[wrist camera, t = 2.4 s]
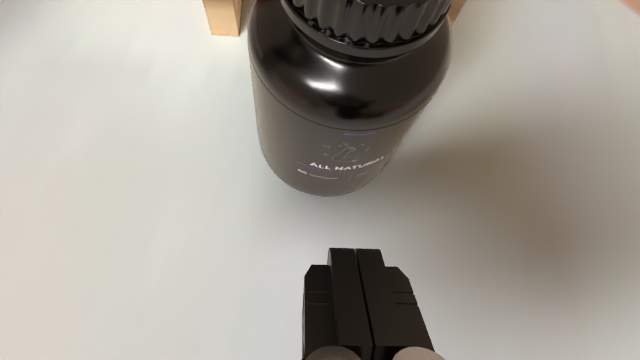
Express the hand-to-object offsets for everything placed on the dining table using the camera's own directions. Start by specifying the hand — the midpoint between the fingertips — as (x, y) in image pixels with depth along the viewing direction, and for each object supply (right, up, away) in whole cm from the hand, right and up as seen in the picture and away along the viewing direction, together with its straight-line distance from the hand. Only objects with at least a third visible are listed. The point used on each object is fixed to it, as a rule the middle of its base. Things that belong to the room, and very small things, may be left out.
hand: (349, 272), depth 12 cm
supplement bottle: (-1, +5, +9) cm, 10 cm away
